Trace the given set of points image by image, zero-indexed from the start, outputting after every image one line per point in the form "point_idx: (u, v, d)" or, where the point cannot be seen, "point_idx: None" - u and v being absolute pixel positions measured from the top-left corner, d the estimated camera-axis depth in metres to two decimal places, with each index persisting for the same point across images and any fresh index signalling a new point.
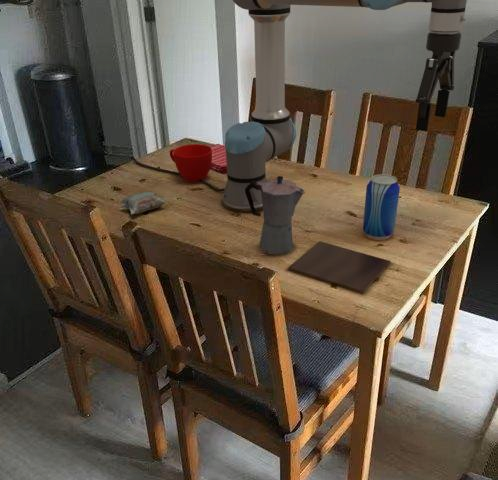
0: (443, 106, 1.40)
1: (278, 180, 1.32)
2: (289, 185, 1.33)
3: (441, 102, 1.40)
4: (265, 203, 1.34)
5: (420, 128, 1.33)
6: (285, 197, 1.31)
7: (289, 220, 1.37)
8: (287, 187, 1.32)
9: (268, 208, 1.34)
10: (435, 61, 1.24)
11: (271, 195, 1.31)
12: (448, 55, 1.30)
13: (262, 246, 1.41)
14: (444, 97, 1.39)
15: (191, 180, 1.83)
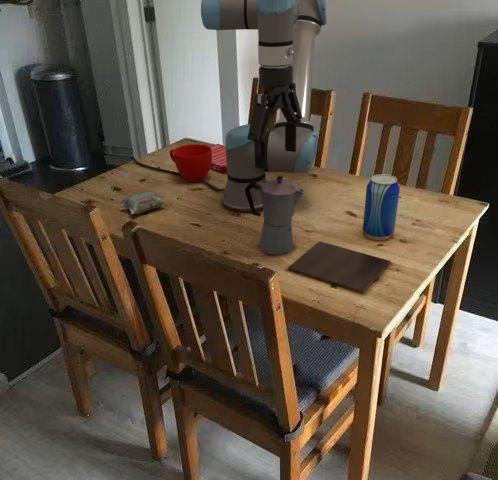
0: (292, 141, 1.33)
1: (278, 180, 1.32)
2: (289, 185, 1.33)
3: (289, 136, 1.32)
4: (265, 203, 1.34)
5: (259, 166, 1.25)
6: (285, 197, 1.31)
7: (289, 220, 1.37)
8: (287, 187, 1.32)
9: (268, 208, 1.34)
10: (263, 97, 1.16)
11: (271, 195, 1.31)
12: (284, 89, 1.22)
13: (262, 246, 1.41)
14: (291, 131, 1.32)
15: (191, 180, 1.83)
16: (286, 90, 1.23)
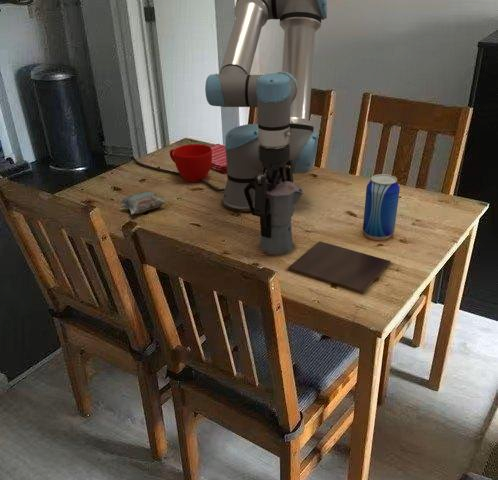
0: None
1: (277, 180, 1.32)
2: (288, 185, 1.33)
3: None
4: None
5: (264, 235, 1.37)
6: (284, 198, 1.30)
7: (288, 220, 1.36)
8: (286, 187, 1.32)
9: None
10: (262, 179, 1.27)
11: (270, 196, 1.31)
12: (282, 164, 1.32)
13: (262, 246, 1.41)
14: None
15: (191, 180, 1.83)
16: (284, 164, 1.33)
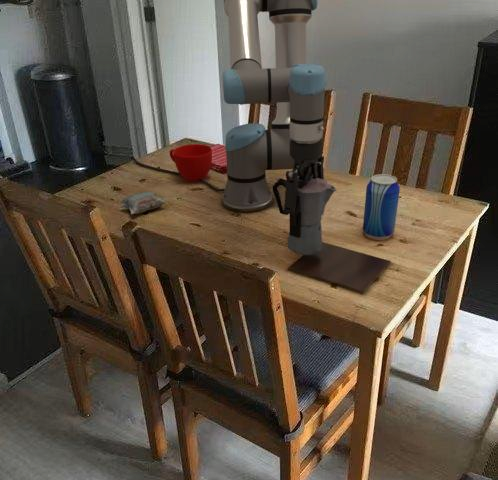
0: None
1: None
2: (319, 182, 1.27)
3: None
4: None
5: (293, 234, 1.31)
6: (315, 195, 1.24)
7: (319, 219, 1.30)
8: (317, 184, 1.26)
9: None
10: (293, 176, 1.21)
11: (301, 193, 1.25)
12: (314, 160, 1.26)
13: (290, 246, 1.35)
14: None
15: (191, 180, 1.83)
16: (315, 160, 1.27)
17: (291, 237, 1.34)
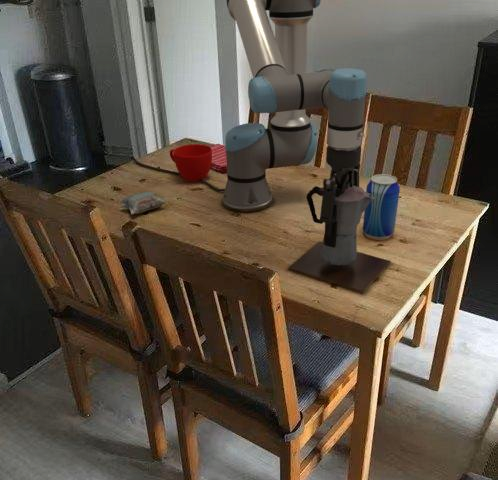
0: None
1: None
2: (357, 190, 1.22)
3: None
4: None
5: (328, 244, 1.27)
6: (353, 204, 1.20)
7: (355, 228, 1.26)
8: (354, 193, 1.21)
9: None
10: (331, 184, 1.16)
11: (338, 202, 1.20)
12: (351, 167, 1.21)
13: (324, 256, 1.30)
14: None
15: (191, 180, 1.83)
16: (352, 168, 1.22)
17: (325, 247, 1.29)
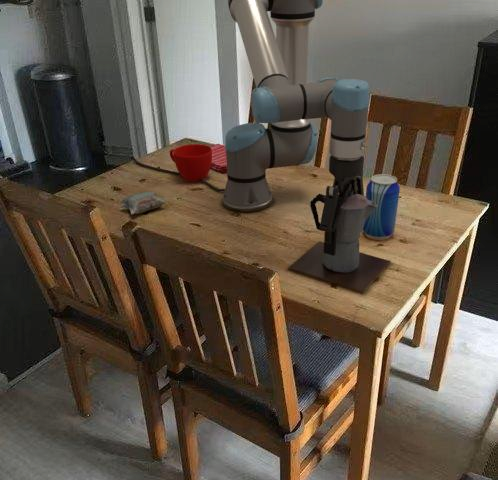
0: None
1: (348, 193, 1.22)
2: (360, 198, 1.23)
3: None
4: None
5: (328, 252, 1.26)
6: (356, 212, 1.21)
7: (358, 236, 1.27)
8: (358, 201, 1.22)
9: (337, 223, 1.24)
10: (334, 191, 1.16)
11: (342, 210, 1.21)
12: (353, 176, 1.22)
13: (326, 263, 1.31)
14: None
15: (191, 180, 1.83)
16: (355, 177, 1.23)
17: (328, 254, 1.30)
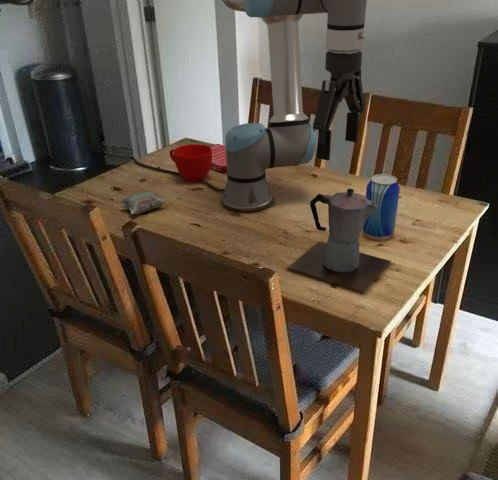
0: (353, 130, 1.26)
1: (348, 193, 1.22)
2: (360, 198, 1.23)
3: (351, 126, 1.26)
4: (333, 218, 1.24)
5: (322, 157, 1.19)
6: (356, 212, 1.21)
7: (358, 236, 1.27)
8: (358, 201, 1.22)
9: (336, 223, 1.24)
10: (331, 84, 1.10)
11: (341, 210, 1.21)
12: (351, 76, 1.16)
13: (326, 263, 1.31)
14: (353, 120, 1.25)
15: (191, 180, 1.83)
16: (352, 77, 1.17)
17: (328, 254, 1.30)
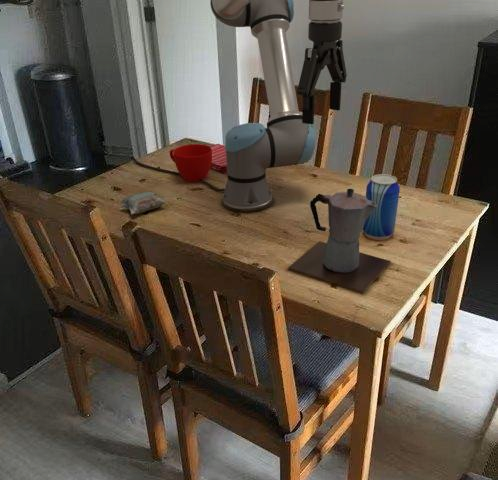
0: (336, 99, 1.36)
1: (348, 193, 1.22)
2: (360, 198, 1.23)
3: (334, 95, 1.35)
4: (333, 218, 1.24)
5: (306, 121, 1.28)
6: (356, 212, 1.21)
7: (358, 236, 1.27)
8: (358, 201, 1.22)
9: (336, 223, 1.24)
10: (313, 51, 1.19)
11: (341, 210, 1.21)
12: (332, 45, 1.25)
13: (326, 263, 1.31)
14: (336, 89, 1.34)
15: (191, 180, 1.83)
16: (334, 46, 1.26)
17: (328, 254, 1.30)
